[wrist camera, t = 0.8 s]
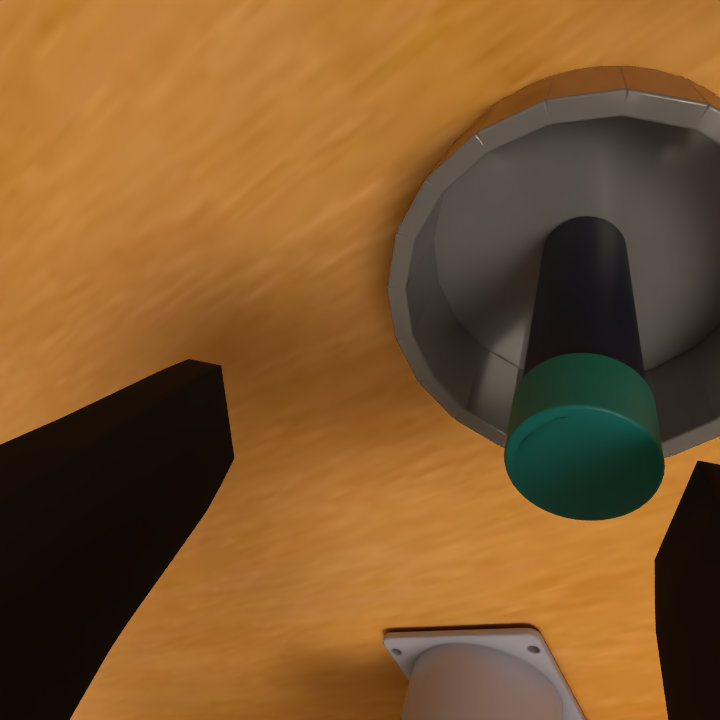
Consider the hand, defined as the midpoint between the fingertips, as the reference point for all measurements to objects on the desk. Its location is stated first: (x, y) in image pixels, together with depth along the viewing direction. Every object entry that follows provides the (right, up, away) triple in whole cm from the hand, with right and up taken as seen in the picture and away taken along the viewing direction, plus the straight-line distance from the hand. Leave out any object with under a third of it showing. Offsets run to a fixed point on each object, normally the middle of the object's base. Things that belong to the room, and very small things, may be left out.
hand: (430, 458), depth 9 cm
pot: (+5, +5, +8) cm, 11 cm away
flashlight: (+5, +4, +7) cm, 10 cm away
